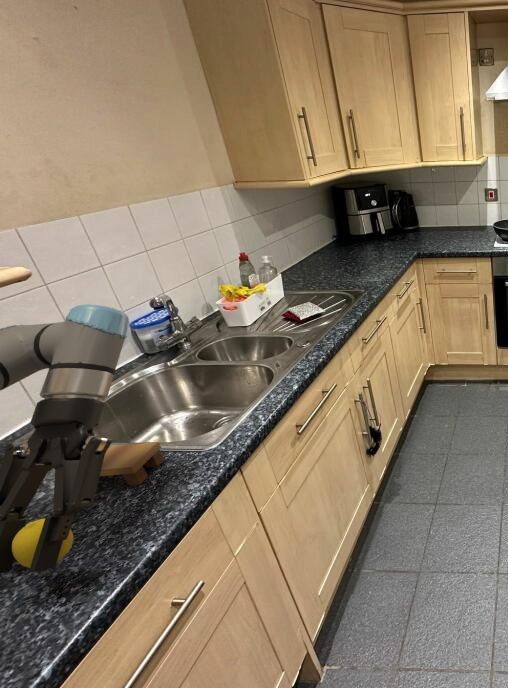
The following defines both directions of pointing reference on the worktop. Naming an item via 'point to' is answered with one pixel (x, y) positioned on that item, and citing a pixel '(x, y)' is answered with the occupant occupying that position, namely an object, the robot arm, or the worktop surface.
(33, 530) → the lemon
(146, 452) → the serving board
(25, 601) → the worktop surface
